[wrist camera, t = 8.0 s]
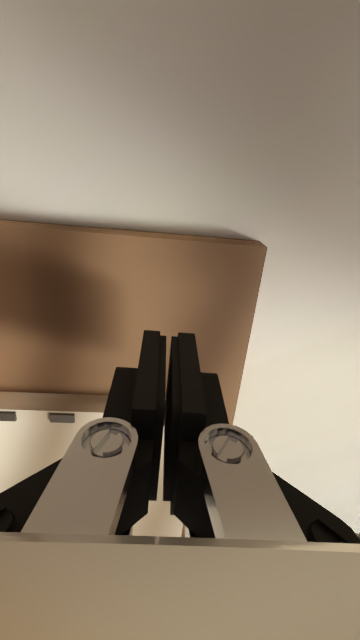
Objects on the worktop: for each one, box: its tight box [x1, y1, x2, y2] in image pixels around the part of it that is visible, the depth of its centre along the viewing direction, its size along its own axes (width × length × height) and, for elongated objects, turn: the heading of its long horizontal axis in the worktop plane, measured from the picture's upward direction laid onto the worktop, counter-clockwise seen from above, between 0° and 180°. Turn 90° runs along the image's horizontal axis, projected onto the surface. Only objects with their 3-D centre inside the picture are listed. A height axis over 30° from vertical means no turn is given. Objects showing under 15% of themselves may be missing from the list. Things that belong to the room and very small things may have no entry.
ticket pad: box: [0, 220, 267, 537], centre depth 17 cm, size 18×22×2 cm
